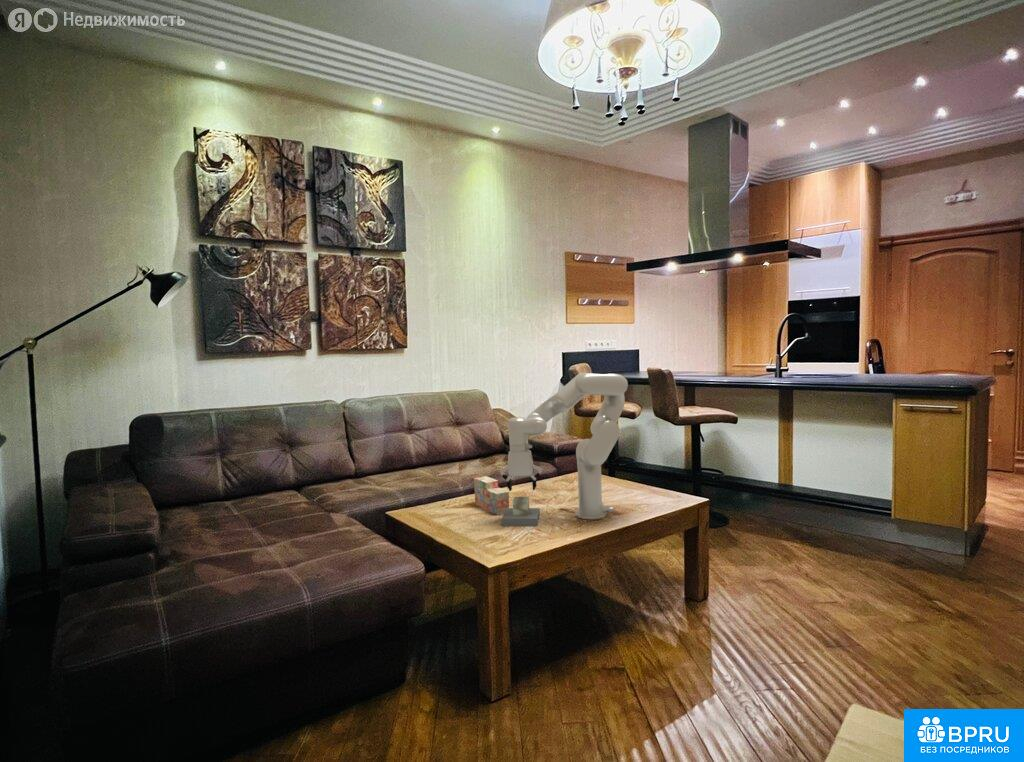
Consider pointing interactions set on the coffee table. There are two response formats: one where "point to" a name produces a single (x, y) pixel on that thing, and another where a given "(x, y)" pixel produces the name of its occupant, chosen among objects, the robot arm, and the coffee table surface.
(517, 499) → the sage cube
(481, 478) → the stack of blocks
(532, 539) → the coffee table surface
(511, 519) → the plinth
